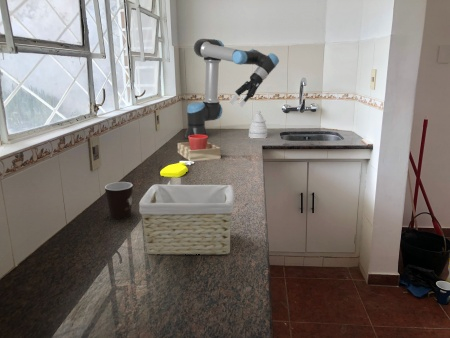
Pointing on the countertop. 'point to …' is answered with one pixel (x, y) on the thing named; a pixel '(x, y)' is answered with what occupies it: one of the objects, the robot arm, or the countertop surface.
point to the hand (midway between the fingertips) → (235, 104)
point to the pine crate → (199, 152)
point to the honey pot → (258, 127)
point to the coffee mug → (119, 199)
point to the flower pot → (198, 142)
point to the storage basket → (187, 219)
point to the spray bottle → (176, 169)
